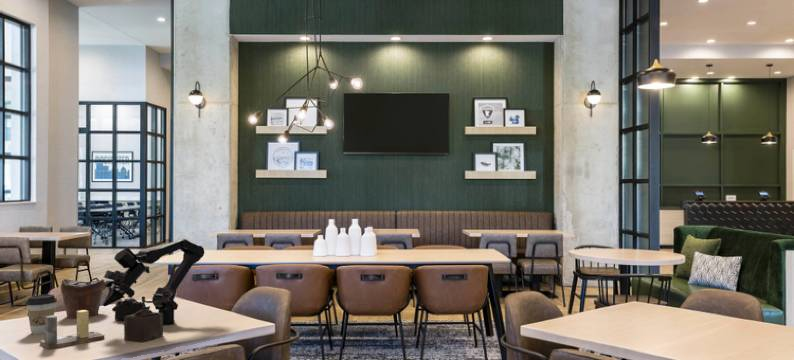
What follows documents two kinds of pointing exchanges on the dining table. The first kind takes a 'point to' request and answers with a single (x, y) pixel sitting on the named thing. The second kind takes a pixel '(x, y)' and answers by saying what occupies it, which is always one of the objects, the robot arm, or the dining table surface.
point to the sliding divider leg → (82, 323)
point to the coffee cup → (40, 311)
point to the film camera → (127, 308)
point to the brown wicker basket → (82, 296)
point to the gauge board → (54, 342)
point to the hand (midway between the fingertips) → (103, 305)
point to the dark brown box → (145, 322)
